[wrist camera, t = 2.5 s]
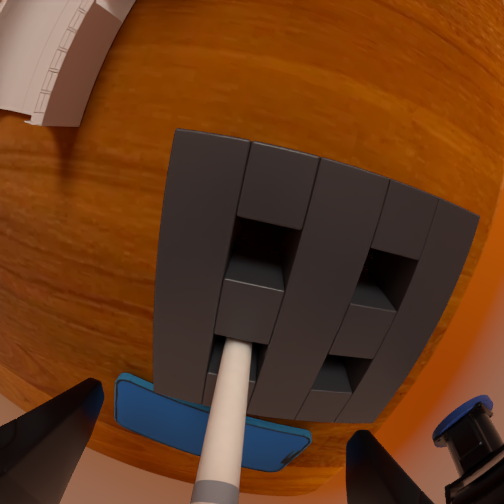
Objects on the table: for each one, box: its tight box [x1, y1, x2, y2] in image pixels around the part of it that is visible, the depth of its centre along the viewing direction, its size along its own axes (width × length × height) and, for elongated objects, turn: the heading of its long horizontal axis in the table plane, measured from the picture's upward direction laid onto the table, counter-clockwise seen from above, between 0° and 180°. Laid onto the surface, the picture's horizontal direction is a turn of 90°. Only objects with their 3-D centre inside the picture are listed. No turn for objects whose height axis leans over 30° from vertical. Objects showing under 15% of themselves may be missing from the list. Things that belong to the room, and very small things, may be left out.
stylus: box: [190, 337, 252, 504], centre depth 10 cm, size 1×1×11 cm
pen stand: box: [153, 128, 480, 423], centre depth 12 cm, size 12×12×4 cm
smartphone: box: [114, 373, 312, 472], centre depth 18 cm, size 7×1×15 cm
